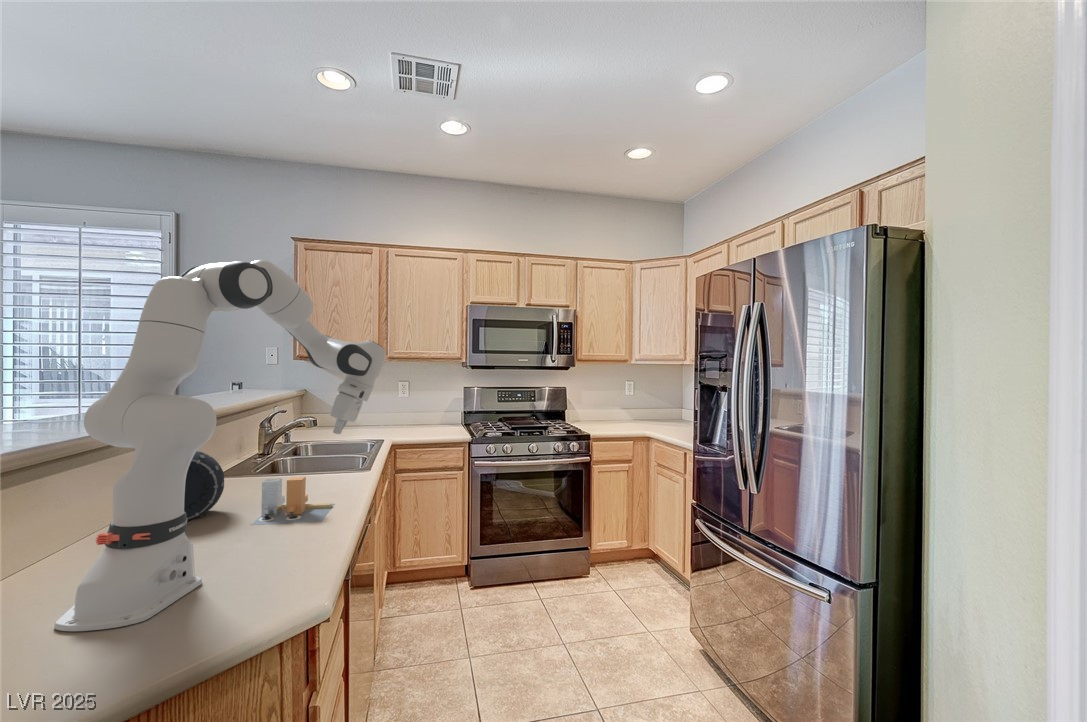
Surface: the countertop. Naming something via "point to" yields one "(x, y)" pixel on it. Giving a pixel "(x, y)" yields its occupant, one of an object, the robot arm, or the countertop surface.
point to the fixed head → (272, 497)
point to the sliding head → (296, 496)
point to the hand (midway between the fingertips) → (336, 433)
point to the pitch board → (298, 515)
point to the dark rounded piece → (202, 485)
